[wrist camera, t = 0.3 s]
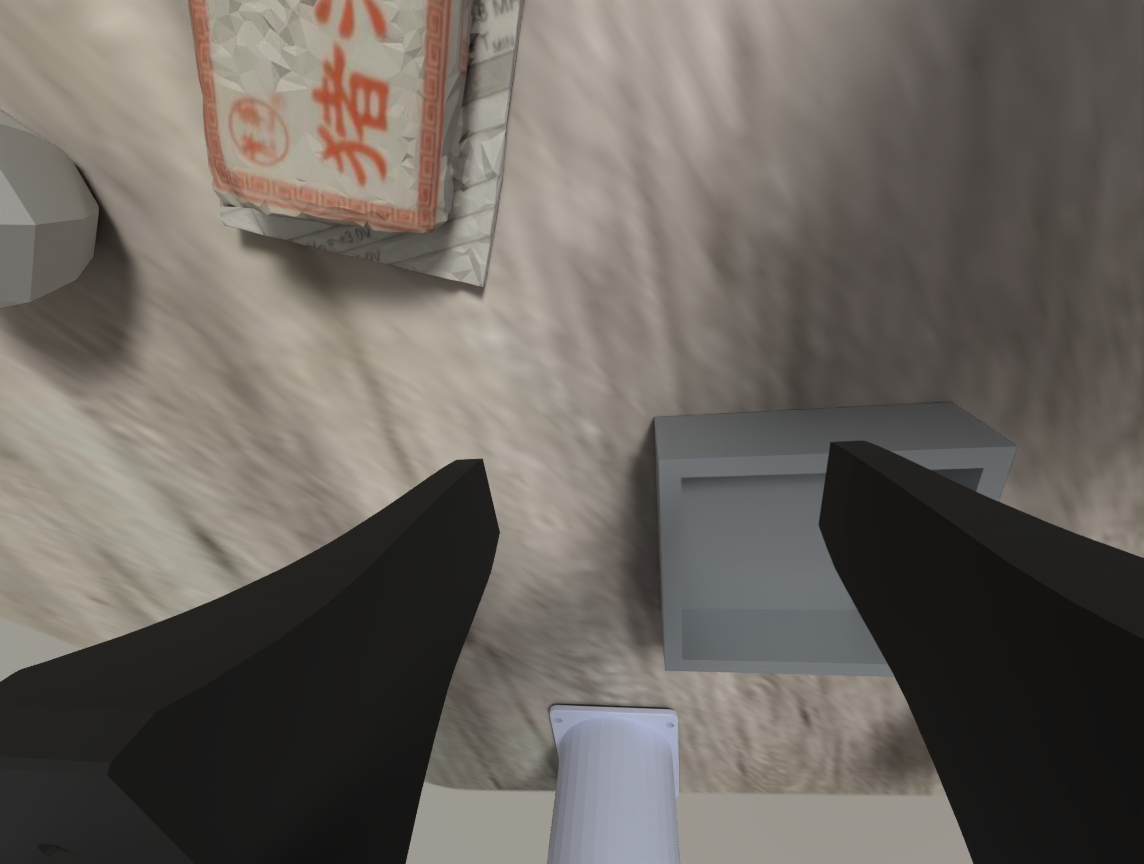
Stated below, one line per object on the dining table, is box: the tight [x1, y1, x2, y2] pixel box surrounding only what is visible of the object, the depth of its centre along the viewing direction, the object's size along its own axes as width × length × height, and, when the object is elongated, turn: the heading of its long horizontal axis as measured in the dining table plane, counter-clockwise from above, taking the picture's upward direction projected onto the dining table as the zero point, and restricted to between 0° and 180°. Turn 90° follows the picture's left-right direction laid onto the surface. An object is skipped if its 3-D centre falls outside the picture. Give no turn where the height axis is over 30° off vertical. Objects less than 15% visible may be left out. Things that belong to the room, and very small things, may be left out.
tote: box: [654, 402, 1018, 677], centre depth 21 cm, size 12×12×4 cm
